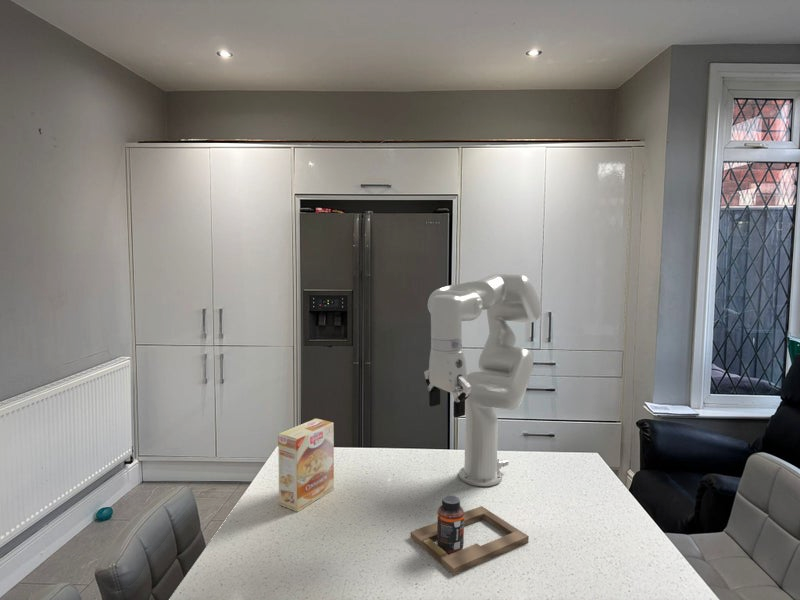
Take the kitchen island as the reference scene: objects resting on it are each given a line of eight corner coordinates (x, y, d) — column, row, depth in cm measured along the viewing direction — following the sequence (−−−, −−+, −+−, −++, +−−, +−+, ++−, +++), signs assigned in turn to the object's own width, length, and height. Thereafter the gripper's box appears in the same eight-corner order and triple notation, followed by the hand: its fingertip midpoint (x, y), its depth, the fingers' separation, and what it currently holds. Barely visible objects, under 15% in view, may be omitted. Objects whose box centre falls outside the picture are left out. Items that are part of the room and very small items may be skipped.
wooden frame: (481, 511, 127) (481, 504, 127) (528, 542, 114) (528, 534, 114) (410, 537, 115) (410, 530, 115) (453, 575, 102) (453, 567, 102)
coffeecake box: (297, 512, 126) (296, 439, 124) (277, 505, 130) (276, 433, 128) (335, 489, 139) (334, 421, 137) (316, 483, 143) (315, 417, 141)
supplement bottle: (465, 555, 109) (465, 506, 108) (438, 554, 109) (438, 505, 108) (462, 539, 115) (462, 492, 114) (436, 539, 115) (436, 492, 114)
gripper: (481, 348, 118) (481, 417, 120) (436, 336, 132) (437, 398, 134) (457, 353, 114) (457, 424, 116) (413, 340, 128) (414, 404, 130)
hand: (446, 410), depth 125 cm, fingers open, 9 cm apart
